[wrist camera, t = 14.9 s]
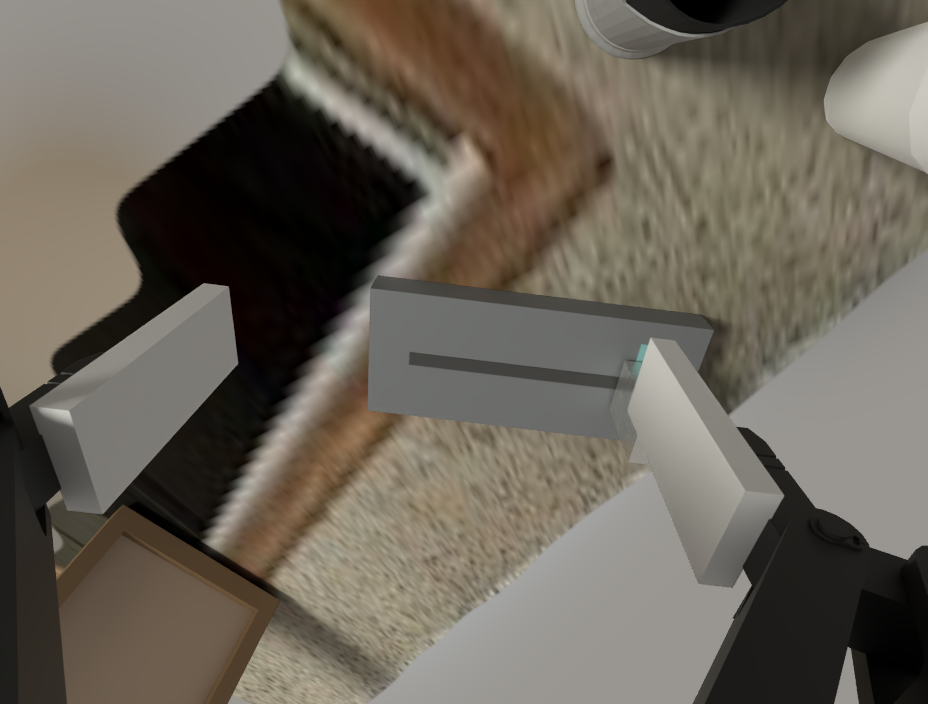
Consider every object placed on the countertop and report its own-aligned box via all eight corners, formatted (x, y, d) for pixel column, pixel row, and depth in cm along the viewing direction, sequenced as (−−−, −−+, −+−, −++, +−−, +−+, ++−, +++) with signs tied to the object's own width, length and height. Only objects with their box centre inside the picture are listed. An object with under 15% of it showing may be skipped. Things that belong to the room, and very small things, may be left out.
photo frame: (129, 498, 57) (-99, 760, 35) (282, 593, 64) (172, 862, 42) (73, 554, 63) (-154, 811, 41) (220, 637, 70) (93, 894, 48)
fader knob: (609, 409, 44) (628, 462, 38) (624, 360, 42) (647, 408, 36) (643, 413, 44) (667, 466, 38) (659, 364, 42) (688, 413, 36)
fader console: (374, 392, 49) (367, 410, 46) (377, 275, 43) (370, 288, 40) (659, 426, 49) (669, 446, 46) (700, 314, 43) (714, 330, 41)
